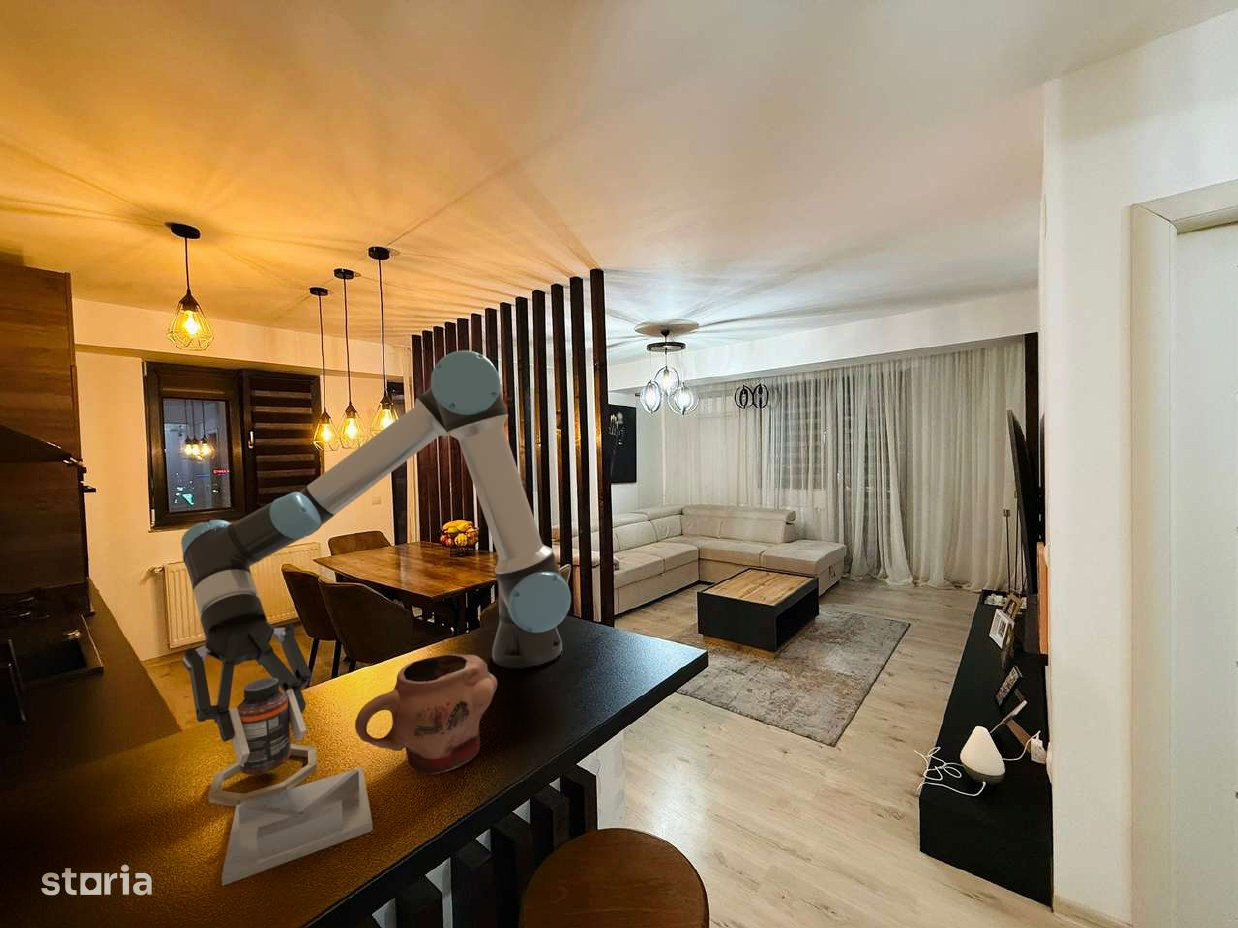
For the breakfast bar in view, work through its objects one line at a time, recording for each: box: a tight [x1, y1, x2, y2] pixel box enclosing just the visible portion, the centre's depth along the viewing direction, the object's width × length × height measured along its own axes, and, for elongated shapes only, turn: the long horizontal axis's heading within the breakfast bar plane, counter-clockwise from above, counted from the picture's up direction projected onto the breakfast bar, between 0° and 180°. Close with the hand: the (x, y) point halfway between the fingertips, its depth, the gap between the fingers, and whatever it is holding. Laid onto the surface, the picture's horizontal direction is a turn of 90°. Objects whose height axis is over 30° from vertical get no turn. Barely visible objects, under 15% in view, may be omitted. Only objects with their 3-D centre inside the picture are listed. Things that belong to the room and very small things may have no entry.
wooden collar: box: [208, 743, 318, 808], centre depth 71 cm, size 12×12×1 cm
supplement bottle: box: [237, 677, 292, 776], centre depth 71 cm, size 6×6×11 cm
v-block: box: [221, 766, 374, 887], centre depth 62 cm, size 13×14×4 cm
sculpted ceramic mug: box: [354, 653, 498, 775], centre depth 73 cm, size 20×12×14 cm, turn 138°
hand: (273, 746), depth 69 cm, fingers closed on supplement bottle, 6 cm apart
